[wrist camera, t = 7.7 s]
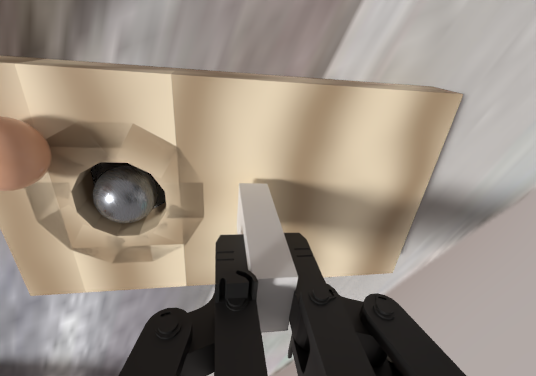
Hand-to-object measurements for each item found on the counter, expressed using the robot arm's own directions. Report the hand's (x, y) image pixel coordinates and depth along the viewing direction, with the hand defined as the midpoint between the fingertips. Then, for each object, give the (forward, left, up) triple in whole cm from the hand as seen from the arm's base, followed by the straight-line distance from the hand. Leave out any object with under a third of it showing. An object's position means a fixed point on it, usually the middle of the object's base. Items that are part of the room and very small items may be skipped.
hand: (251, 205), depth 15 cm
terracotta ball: (+10, -3, +1) cm, 11 cm away
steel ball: (+7, 0, -2) cm, 7 cm away
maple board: (+1, 0, -3) cm, 4 cm away
